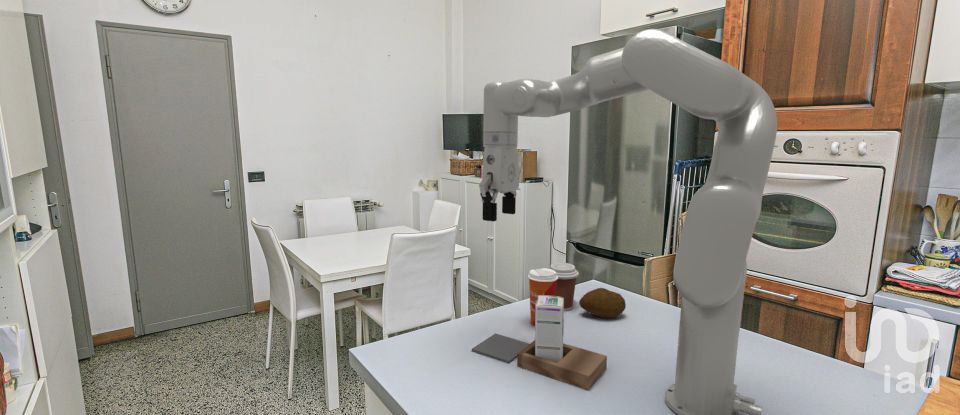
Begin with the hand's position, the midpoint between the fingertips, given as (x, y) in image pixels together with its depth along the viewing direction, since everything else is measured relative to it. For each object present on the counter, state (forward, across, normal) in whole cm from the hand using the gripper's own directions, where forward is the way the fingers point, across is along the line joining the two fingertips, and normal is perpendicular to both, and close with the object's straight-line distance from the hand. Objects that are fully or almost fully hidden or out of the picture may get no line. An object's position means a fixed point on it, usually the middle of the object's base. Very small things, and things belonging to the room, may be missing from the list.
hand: (499, 217), depth 105 cm
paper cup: (+31, +16, -5) cm, 35 cm away
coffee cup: (+31, +30, -6) cm, 43 cm away
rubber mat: (+30, -2, -2) cm, 31 cm away
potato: (+31, +28, -18) cm, 45 cm away
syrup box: (+31, -4, -14) cm, 34 cm away
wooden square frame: (+30, -4, -17) cm, 35 cm away
